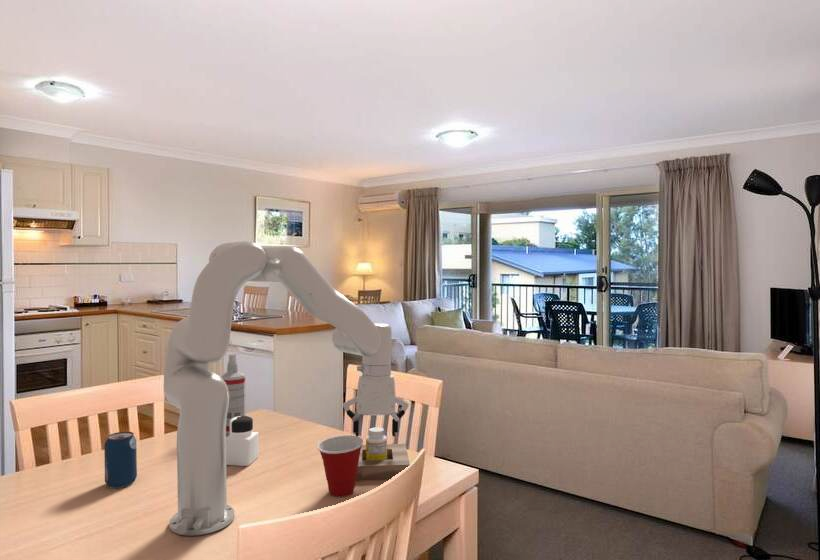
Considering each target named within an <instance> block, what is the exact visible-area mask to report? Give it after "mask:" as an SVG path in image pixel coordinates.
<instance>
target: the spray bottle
mask: <svg viewBox="0 0 820 560" xmlns="http://www.w3.org/2000/svg"><path fill="white" fill-rule="evenodd" d="M226 368H227V369H226V372H225V373H223V374H221V375H219V376H220V377H221V378H222V379H223V380H224V381H225V383H226V385H227V387H228V390H229V406H228V412H227V420H226V435H230V420H231V419H232V418H234V417H238V416H247V415H246V410H247V409H246V373H243V372H241V371H239V365H238V361H237V353H231V354H228V361H227V367H226Z"/></svg>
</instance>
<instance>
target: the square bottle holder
mask: <svg viewBox="0 0 820 560" xmlns="http://www.w3.org/2000/svg"><path fill="white" fill-rule="evenodd" d="M408 455H409V454H408V450H407V446H406V443H387V460H366V444H362V446H361V451H360V456H359V463H358V470H357V477H356V481H370V480H371V481H373V480H375V481H376V480H378V481H379V480H391V479H390V478H392V477H393V476H395V475H396V474H398V473H399V472H401V471H402V470H404V469H405V468H406V467H408V466H409V465H410V466H411V463H410V459H409V456H408Z"/></svg>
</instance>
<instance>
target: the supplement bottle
mask: <svg viewBox="0 0 820 560" xmlns="http://www.w3.org/2000/svg"><path fill="white" fill-rule="evenodd" d="M387 444H388V438H387V436H386V435H385V429H384V428H383V427H378V426H377V427H372V428H369V429H368V435H367V436H366V438H365V445H366V460H387Z"/></svg>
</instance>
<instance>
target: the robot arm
mask: <svg viewBox="0 0 820 560" xmlns="http://www.w3.org/2000/svg"><path fill="white" fill-rule="evenodd" d="M248 282H257V283H258V282H262V283H263V282H264V283H266V282H267V283H269V282H272V283H281V285H282V286H283V287H284V288H285V289H286V290H287V291H288V292H289V294H290V295H291V296H292V297H293V298H294V299H295V300H296V302H297V303H299V305H300V306H301V307H302V308H303V309H304V310H305V312H307V313H308V314H310V316H312V317H315V318H316V319H319V320H321V321H324V322H325V323H327V324H329V325H331V326H333V327H335V329H334V330H333V331H332V334H331V342H332V345H333V346H334V347H335V348H336V350H338V351H340V352H343V353H347V354H351V355H358V356H361V357H362V364H361V365H356V371H357V372H361V374H360V375H359V377H358V383H357V391H356V396H354V397H353V398H350V399H349V400H347V401H345V402H343V404H342V407H343V409H344V411H345V412H346V413H345V414H346V416H348V417H349V418H350V419H351V420H352V422H353V424H352V426H353V427H352V430H353V431H352V432H353V433H354V434H355V436H358V437H359V435H360V433H359V431H360V429H359V428H360V427H359V426H360V425H359V424H360V423H359V422H360V421H359V420H360V419H359V418H360V417H361V416H391V417H392V419H391V421H392V423H391V434H392V437H393V438H394V437H396V433H398V432H399V421H400V419H402V418H403V416H404V415H405V414H406V412H407V410H408V408H409V406H410V405H409V402H407V401H405V400H404V399H401V398H400V397H399V396H398V397H397V396H396V383H395V377H394V375H393V374H392V337H393V336H392V327H391V325H390V324H388V323H381V322H375V323H374V322H373V320H371V319H370V317H369V316H368V315H367V314H366V313H365V312H364V311H363V310H362V309H361V308H360V307H359V306H357V305H356V304H355V303H353V302H352V301H350V300H349V298H347V297H345V296H344V295H343V294H342V293H340V292H339V291H338V290H336V289H335V288H334V287H333V286H332V284H330V283H329V282H328V280H327V279H326V278H325V276H323V274H322V272H320V270H319V269H318V268H317V267H316V266H315V264H314V263H313V262H312V261H311V260H310V259H309V257H308V256H307V255H306V254H305V253H304V252H303V251H302V250H301V249H300V248H298V247H296V246H292V245H291V246H290V245H289V246H274V247H273V246H268V247H267V246H261V245H260V244H258V243H256V242H254V241H247V240H243V241H234V242H233V241H232V242H226V243H221V244H219V245H217V246H216V247H215V248H213V250H212V251H211V252H210V254H209V258H208V263H207V264H206V265H205V266H204V267H203V268H202V270H201V272H200V273H199V275H198V277H197V279H196V281H195V284H194V287H193V290H192V295H191V301H190V307H189V313H188V316H186V317H184V318H182V319H181V320H179V321H178V322H177V323H176V324H175V326H174V327H173V328H172V330H171V333H170V335H169V338H168V343H167V351H166V359H165V367H164V375H163V392H164V396H165V398H166V400H167V401H168V402H169V403H170V404H171V405H172V406H174V407H175V408H177V409H179V419H178V423H177V432H176V453H177V454H176V456H177V457H176V458H177V460H176V461H177V464H176V466H177V467H176V468H177V475H176V476H177V512H176V513H174V514H173V515H172V517H171V518H170V519H169V529H170V530H171V531H172V532H173V533H175V534H177V535H178V536H179V535H180V536H181V535H182V536H187V537H189V536H190V537H191V536H193V537H194V536H201V535H208V534H211V533H214V532H217V531H219V530H222V529H224V528H225V527H227V526H229V525H230V524H231V523H232V522H233V521H234V519H235V509H234V508H233V507H232V506H230V505H228V504H227V502H228V501H227V499H228V498H227V491H228V490H227V465H226V437H227V434H226V420H227V412H228V406H229V390H228V387H227V385H226V383H225V381H224V380H223V379H222V378H221V377H220V376H221V375H219V374H217V373H215V371H214V372H213V371H211V370H210V367H211V364H214V363H218V362H220V361H221V360H223V358H225V356H226V355H227V353H228V351H229V347H230V342H231V332H232V331H231V330H232V324H233V323H232V322H233V313H234V308H235V302H236V300H237V299H236V298H237V295H238V293H239V291H240V290H241V288H242V287H243V286H244V285H245V284H246V283H248ZM354 404H356V411H355V412H353V410H351V408H350V407H351V406H353V405H354ZM397 404H398V405H399V406H401V409H400V410H399V411H396V405H397Z"/></svg>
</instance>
